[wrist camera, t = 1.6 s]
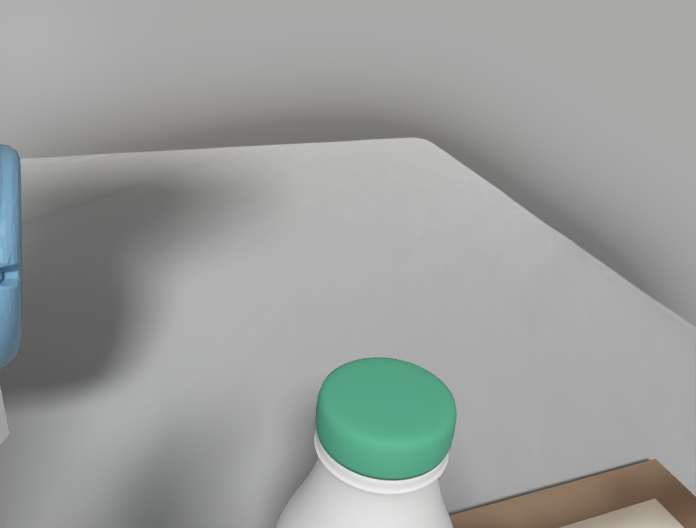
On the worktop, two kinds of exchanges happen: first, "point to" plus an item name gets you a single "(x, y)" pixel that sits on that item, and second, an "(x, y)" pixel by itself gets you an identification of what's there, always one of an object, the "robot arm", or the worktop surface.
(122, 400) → the worktop surface
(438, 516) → the milk bottle
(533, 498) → the writing board
